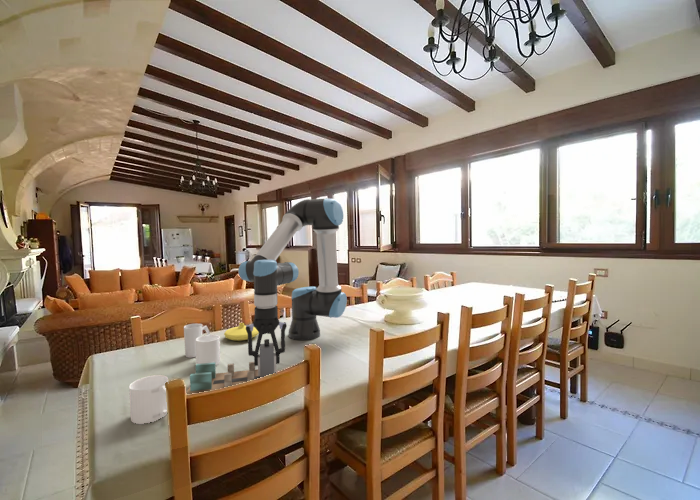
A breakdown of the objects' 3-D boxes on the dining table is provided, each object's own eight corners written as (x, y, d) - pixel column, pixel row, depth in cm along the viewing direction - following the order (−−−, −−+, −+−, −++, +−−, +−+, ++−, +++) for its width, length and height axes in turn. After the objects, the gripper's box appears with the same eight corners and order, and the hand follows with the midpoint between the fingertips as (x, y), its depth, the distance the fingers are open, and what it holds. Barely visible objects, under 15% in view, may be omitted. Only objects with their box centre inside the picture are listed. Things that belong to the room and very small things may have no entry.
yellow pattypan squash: (257, 331, 164) (257, 317, 163) (260, 341, 149) (260, 326, 149) (224, 335, 158) (223, 320, 158) (224, 345, 144) (223, 330, 143)
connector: (274, 370, 114) (273, 337, 113) (274, 376, 109) (273, 341, 108) (260, 372, 112) (260, 338, 112) (260, 378, 108) (259, 342, 107)
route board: (273, 370, 118) (272, 354, 118) (273, 388, 105) (272, 370, 104) (195, 378, 112) (194, 361, 112) (184, 398, 99) (184, 379, 98)
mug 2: (189, 359, 128) (187, 329, 128) (181, 355, 133) (180, 326, 132) (213, 352, 136) (212, 323, 135) (206, 348, 140) (205, 320, 140)
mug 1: (123, 418, 88) (122, 385, 88) (157, 403, 96) (156, 372, 96) (149, 432, 82) (147, 396, 82) (182, 414, 90) (181, 381, 90)
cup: (204, 370, 118) (203, 343, 117) (187, 362, 125) (186, 336, 125) (224, 363, 125) (223, 337, 124) (207, 356, 132) (206, 331, 131)
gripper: (291, 302, 115) (292, 366, 117) (239, 304, 111) (241, 371, 112) (293, 307, 108) (294, 375, 109) (237, 310, 104) (239, 381, 105)
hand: (267, 373), depth 111 cm, fingers closed on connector, 4 cm apart
